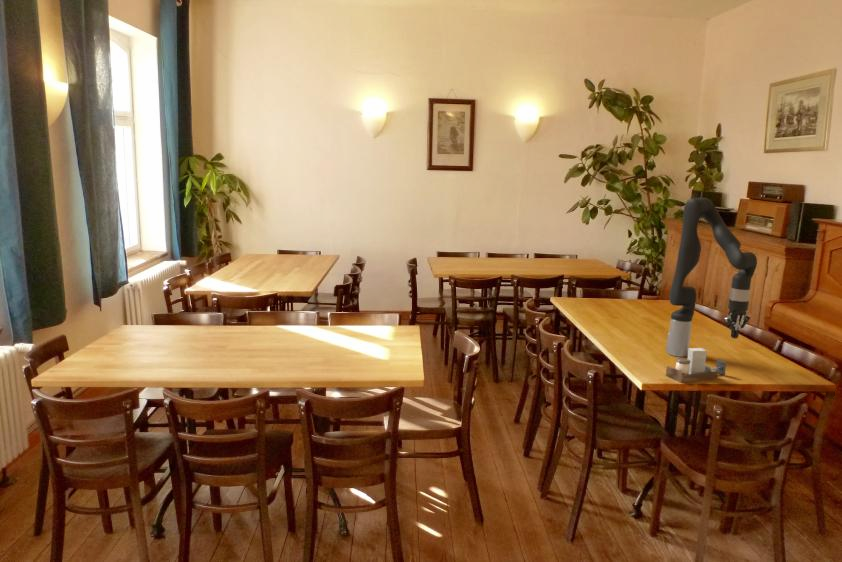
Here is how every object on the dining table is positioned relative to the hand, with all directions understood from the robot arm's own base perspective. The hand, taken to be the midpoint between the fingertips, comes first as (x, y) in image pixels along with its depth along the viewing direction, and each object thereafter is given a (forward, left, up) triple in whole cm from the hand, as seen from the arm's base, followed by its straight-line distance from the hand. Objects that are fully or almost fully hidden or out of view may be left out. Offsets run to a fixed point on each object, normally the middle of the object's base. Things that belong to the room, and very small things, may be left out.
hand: (734, 337), depth 253 cm
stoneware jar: (0, -27, -16) cm, 31 cm away
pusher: (0, -10, -16) cm, 19 cm away
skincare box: (0, -19, -16) cm, 25 cm away
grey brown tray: (0, -21, -16) cm, 26 cm away
